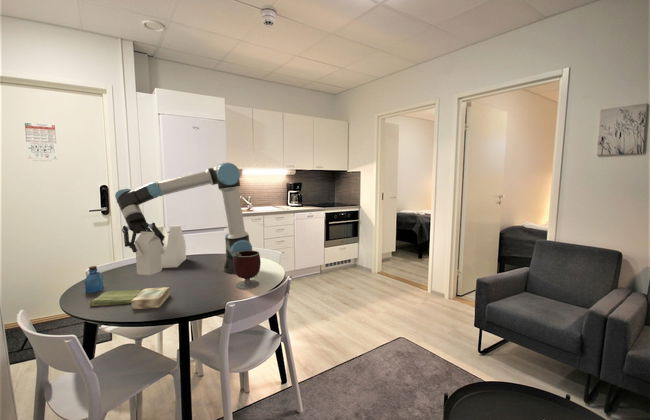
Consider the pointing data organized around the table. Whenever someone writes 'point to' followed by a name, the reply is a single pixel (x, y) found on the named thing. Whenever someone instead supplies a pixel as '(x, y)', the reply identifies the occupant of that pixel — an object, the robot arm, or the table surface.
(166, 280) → the table surface
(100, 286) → the perfume bottle
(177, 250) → the white notched block
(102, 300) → the washcloth
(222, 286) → the table surface
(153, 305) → the beige book
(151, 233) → the milk carton
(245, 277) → the dark red goblet
